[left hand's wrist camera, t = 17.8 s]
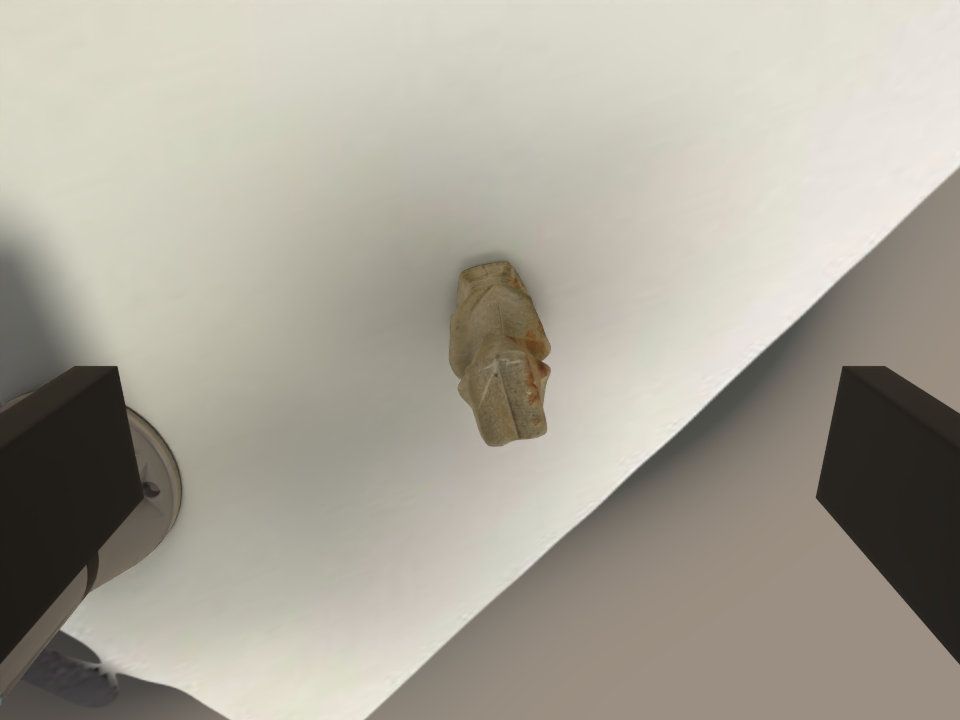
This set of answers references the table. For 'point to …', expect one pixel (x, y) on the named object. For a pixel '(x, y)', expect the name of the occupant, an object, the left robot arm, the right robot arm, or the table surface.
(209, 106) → the table surface
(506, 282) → the sculpture
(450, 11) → the table surface
